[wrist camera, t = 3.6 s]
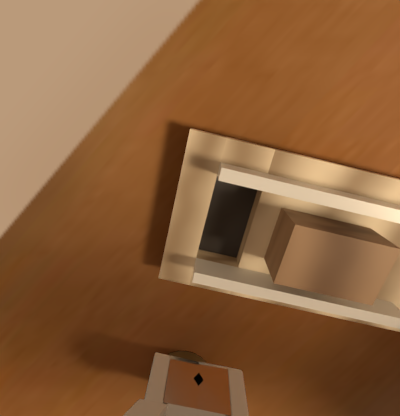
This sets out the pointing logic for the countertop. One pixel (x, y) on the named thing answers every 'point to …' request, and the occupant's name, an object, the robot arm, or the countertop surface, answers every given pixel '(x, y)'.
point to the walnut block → (329, 256)
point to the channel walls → (262, 282)
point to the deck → (260, 210)
